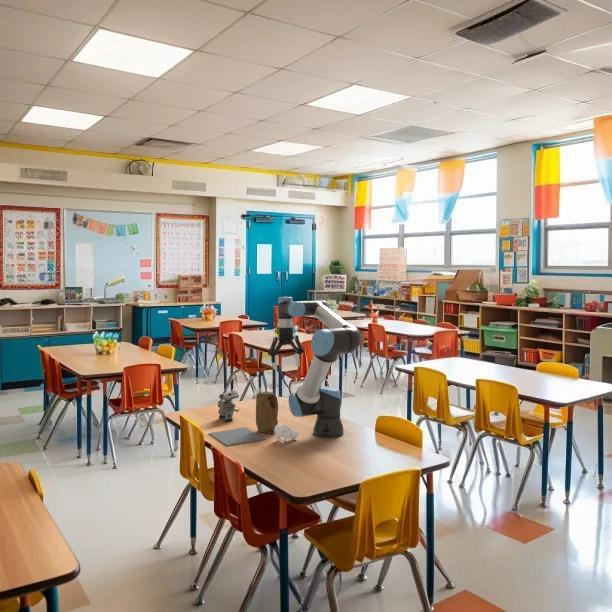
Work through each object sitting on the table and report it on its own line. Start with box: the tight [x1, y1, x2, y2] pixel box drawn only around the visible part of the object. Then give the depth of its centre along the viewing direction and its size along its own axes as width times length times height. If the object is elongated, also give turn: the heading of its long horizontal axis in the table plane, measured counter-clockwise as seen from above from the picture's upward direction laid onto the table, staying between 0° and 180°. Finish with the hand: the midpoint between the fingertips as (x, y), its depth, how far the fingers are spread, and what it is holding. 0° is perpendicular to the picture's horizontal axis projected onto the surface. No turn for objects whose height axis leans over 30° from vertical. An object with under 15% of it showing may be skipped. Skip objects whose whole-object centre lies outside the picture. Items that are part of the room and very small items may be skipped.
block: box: [255, 391, 279, 434], centre depth 300 cm, size 11×8×20 cm
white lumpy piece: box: [274, 423, 299, 444], centre depth 286 cm, size 6×8×12 cm
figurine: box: [217, 390, 241, 423], centre depth 323 cm, size 9×12×15 cm
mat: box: [208, 426, 266, 447], centre depth 292 cm, size 22×20×1 cm
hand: (286, 367), depth 309 cm, fingers open, 13 cm apart
